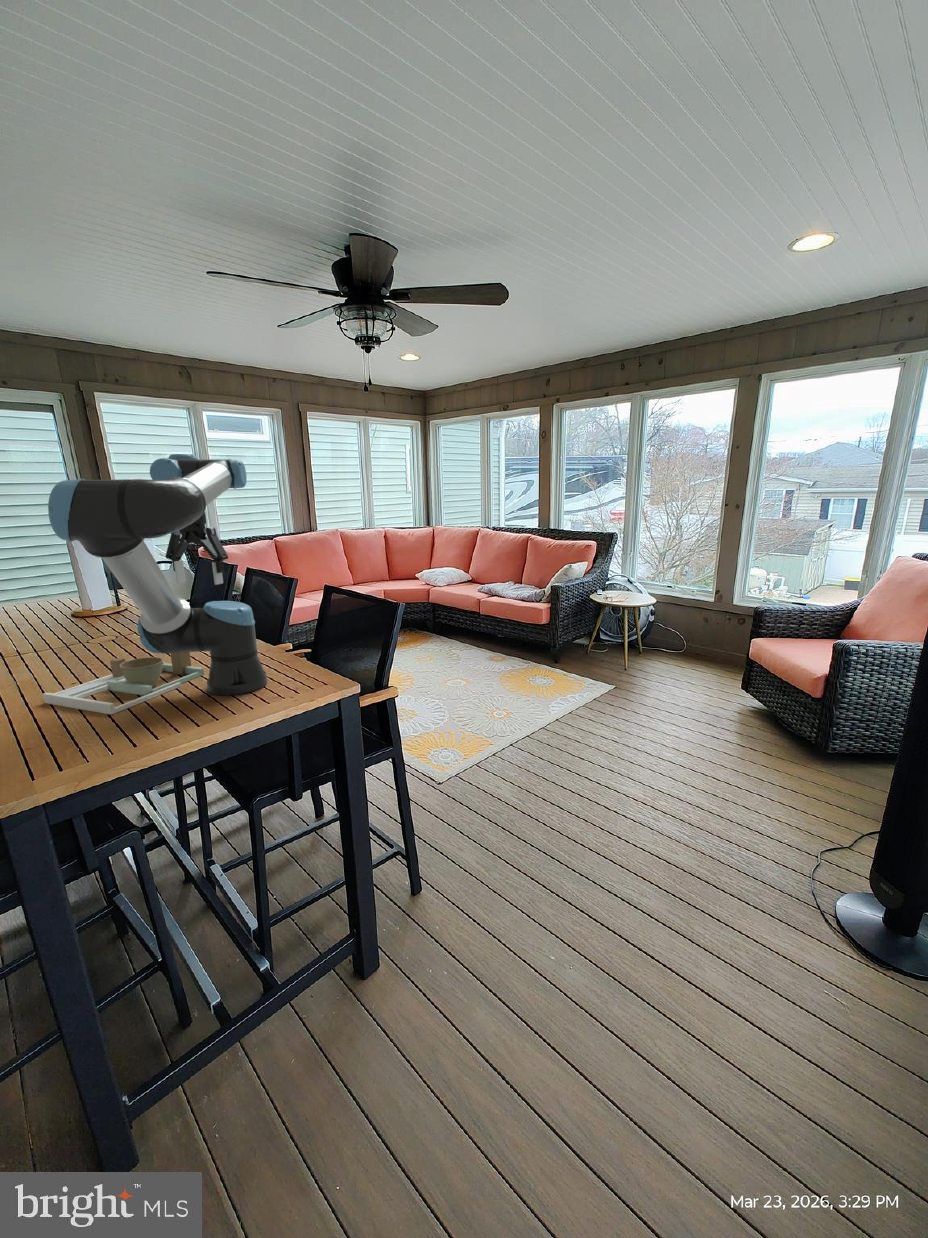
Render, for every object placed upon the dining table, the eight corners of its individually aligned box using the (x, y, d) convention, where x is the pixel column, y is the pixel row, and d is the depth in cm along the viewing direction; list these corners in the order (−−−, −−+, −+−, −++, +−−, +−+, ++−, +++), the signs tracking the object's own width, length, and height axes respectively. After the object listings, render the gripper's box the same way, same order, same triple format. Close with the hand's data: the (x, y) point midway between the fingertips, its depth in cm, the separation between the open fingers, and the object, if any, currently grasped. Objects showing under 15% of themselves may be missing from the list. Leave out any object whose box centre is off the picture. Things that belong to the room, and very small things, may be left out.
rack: (181, 686, 140) (180, 677, 139) (111, 714, 122) (109, 704, 121) (114, 676, 148) (112, 668, 147) (39, 702, 130) (37, 693, 129)
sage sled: (207, 673, 150) (202, 640, 148) (149, 696, 133) (143, 660, 130) (168, 668, 155) (164, 636, 153) (108, 690, 138) (101, 654, 135)
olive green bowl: (145, 695, 134) (141, 669, 132) (114, 692, 136) (110, 666, 134) (174, 682, 143) (171, 657, 142) (145, 679, 146) (141, 655, 144)
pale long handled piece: (129, 678, 146) (126, 658, 145) (61, 702, 129) (57, 680, 128) (119, 677, 148) (116, 657, 146) (51, 700, 130) (46, 678, 129)
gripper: (235, 510, 146) (243, 582, 151) (166, 510, 153) (176, 579, 158) (217, 510, 139) (226, 586, 144) (144, 511, 146) (156, 583, 151)
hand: (200, 583), depth 151 cm, fingers open, 13 cm apart
